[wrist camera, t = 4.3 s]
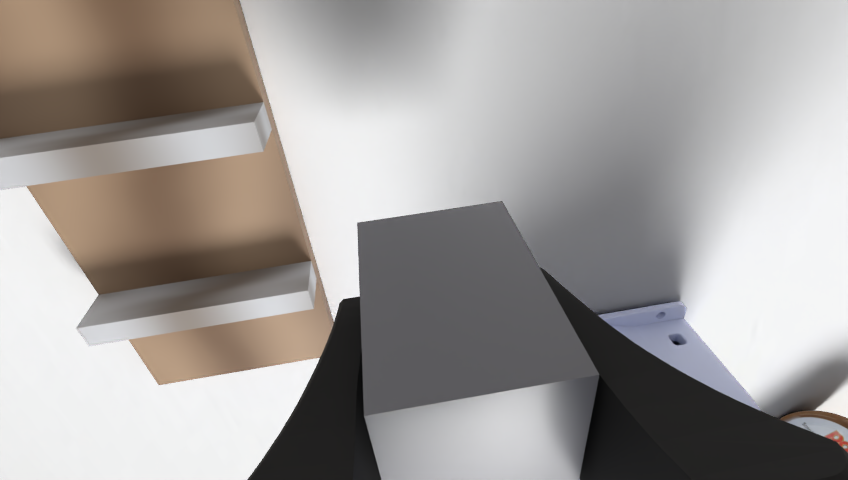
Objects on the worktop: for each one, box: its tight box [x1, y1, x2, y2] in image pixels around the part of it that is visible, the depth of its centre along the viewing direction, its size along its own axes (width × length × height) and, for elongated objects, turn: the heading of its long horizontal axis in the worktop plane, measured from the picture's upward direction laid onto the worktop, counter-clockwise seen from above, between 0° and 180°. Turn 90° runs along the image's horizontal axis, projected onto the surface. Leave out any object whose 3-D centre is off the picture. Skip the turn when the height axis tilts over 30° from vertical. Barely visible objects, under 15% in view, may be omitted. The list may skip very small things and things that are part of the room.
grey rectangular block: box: [357, 201, 599, 480], centre depth 11 cm, size 4×4×6 cm
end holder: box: [0, 0, 334, 385], centre depth 18 cm, size 9×18×3 cm, turn 6°
